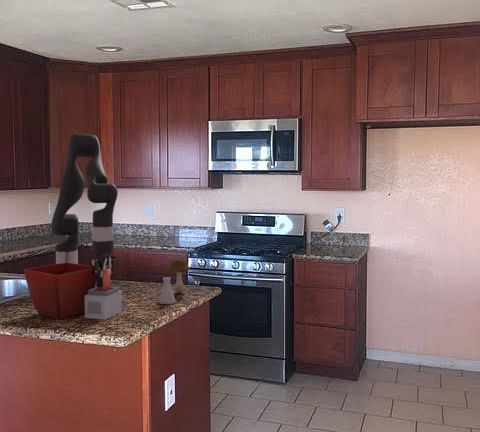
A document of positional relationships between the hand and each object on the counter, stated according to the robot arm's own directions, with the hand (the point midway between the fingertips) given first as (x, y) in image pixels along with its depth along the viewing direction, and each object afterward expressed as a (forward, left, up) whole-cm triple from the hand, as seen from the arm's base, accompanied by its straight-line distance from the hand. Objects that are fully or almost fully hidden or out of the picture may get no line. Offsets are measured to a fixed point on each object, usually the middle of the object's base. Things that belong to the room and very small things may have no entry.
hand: (103, 285), depth 207 cm
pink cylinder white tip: (0, 0, -1) cm, 1 cm away
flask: (+14, +25, -11) cm, 30 cm away
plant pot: (-15, -3, -11) cm, 19 cm away
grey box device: (0, 0, -11) cm, 11 cm away
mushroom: (+11, +44, -11) cm, 46 cm away
